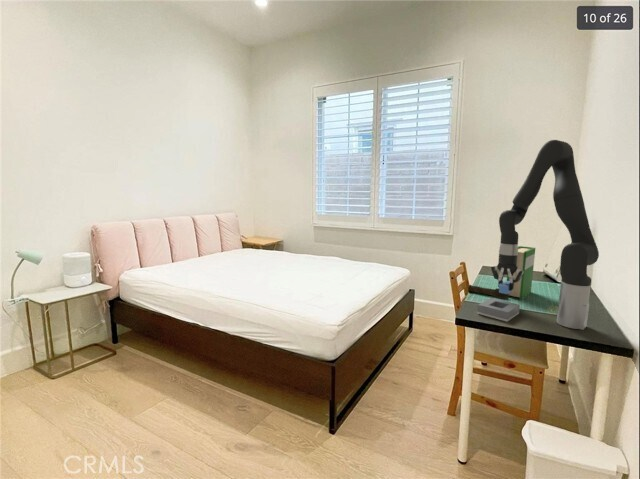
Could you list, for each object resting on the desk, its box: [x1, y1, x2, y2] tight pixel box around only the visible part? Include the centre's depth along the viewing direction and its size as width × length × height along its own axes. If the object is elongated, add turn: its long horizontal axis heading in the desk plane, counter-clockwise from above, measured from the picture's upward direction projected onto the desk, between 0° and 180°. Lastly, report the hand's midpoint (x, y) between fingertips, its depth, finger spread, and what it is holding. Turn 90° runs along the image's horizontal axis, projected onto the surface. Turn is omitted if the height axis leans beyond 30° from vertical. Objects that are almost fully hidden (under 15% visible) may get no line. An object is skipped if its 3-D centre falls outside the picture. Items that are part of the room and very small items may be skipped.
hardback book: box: [506, 245, 536, 300], centre depth 170 cm, size 18×7×24 cm, turn 135°
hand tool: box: [467, 284, 510, 299], centre depth 170 cm, size 19×4×5 cm, turn 47°
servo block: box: [497, 280, 512, 294], centre depth 155 cm, size 4×10×5 cm, turn 132°
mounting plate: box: [476, 297, 521, 322], centre depth 144 cm, size 12×14×4 cm
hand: (505, 289), depth 155 cm, fingers closed on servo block, 3 cm apart
